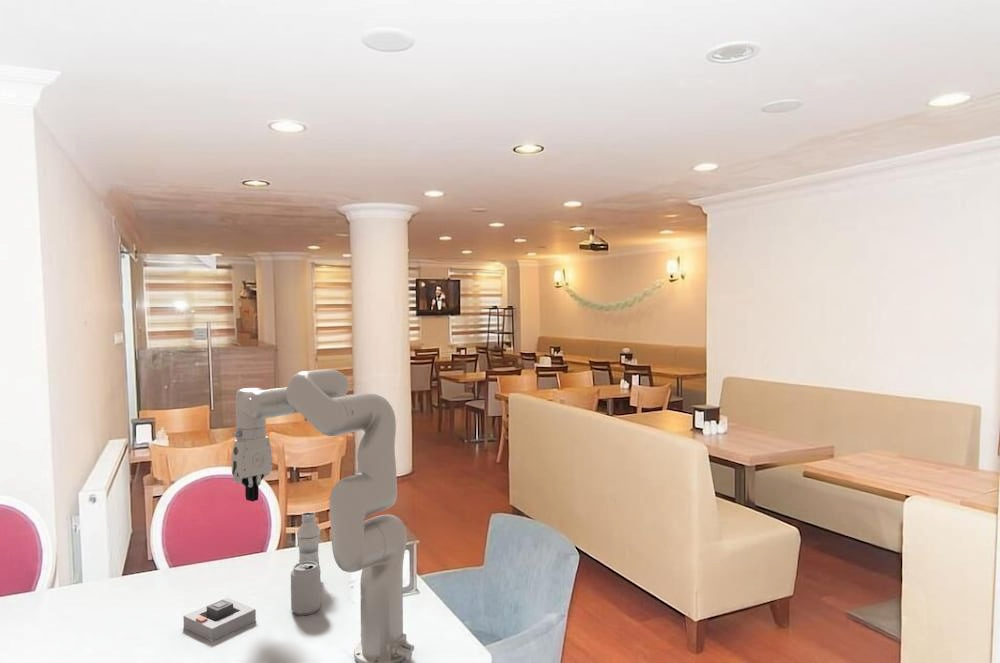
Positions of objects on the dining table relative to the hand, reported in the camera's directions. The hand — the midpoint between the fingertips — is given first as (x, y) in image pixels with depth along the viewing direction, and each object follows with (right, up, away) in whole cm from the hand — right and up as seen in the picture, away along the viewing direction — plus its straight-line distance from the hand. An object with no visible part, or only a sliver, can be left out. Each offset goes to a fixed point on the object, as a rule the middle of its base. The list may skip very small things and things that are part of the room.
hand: (252, 499), depth 175 cm
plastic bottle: (+12, -27, +11) cm, 32 cm away
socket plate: (-3, -28, -14) cm, 31 cm away
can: (+17, -28, -6) cm, 33 cm away
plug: (-3, -28, -14) cm, 31 cm away
